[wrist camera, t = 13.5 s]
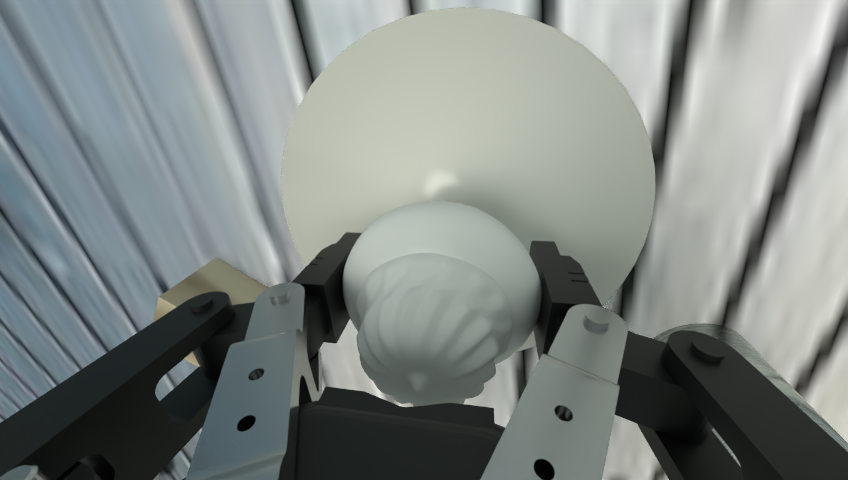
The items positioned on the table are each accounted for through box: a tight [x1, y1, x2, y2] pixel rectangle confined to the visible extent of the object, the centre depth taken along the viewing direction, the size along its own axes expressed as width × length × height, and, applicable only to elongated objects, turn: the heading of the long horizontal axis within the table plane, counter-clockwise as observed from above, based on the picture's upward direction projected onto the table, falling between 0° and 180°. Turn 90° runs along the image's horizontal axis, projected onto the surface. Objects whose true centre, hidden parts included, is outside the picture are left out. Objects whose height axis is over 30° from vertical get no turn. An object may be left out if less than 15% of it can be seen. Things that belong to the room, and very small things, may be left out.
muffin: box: [342, 200, 542, 407], centre depth 10 cm, size 6×6×7 cm
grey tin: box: [654, 324, 848, 467], centre depth 14 cm, size 5×5×6 cm
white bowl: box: [281, 7, 655, 352], centre depth 15 cm, size 16×16×2 cm
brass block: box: [153, 258, 268, 367], centre depth 19 cm, size 4×4×4 cm
